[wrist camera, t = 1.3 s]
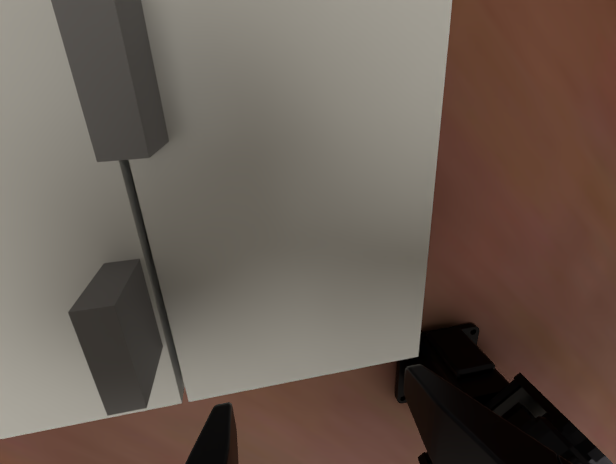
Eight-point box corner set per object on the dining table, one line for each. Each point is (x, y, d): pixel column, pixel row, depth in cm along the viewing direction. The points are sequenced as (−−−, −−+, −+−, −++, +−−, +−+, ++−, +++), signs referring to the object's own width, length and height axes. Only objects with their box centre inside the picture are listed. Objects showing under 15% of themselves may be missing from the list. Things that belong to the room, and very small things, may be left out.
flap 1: (408, 343, 18) (453, 406, 15) (191, 384, 16) (179, 468, 13) (445, -119, 11) (551, -222, 7) (66, -138, 9) (-42, -287, 6)
